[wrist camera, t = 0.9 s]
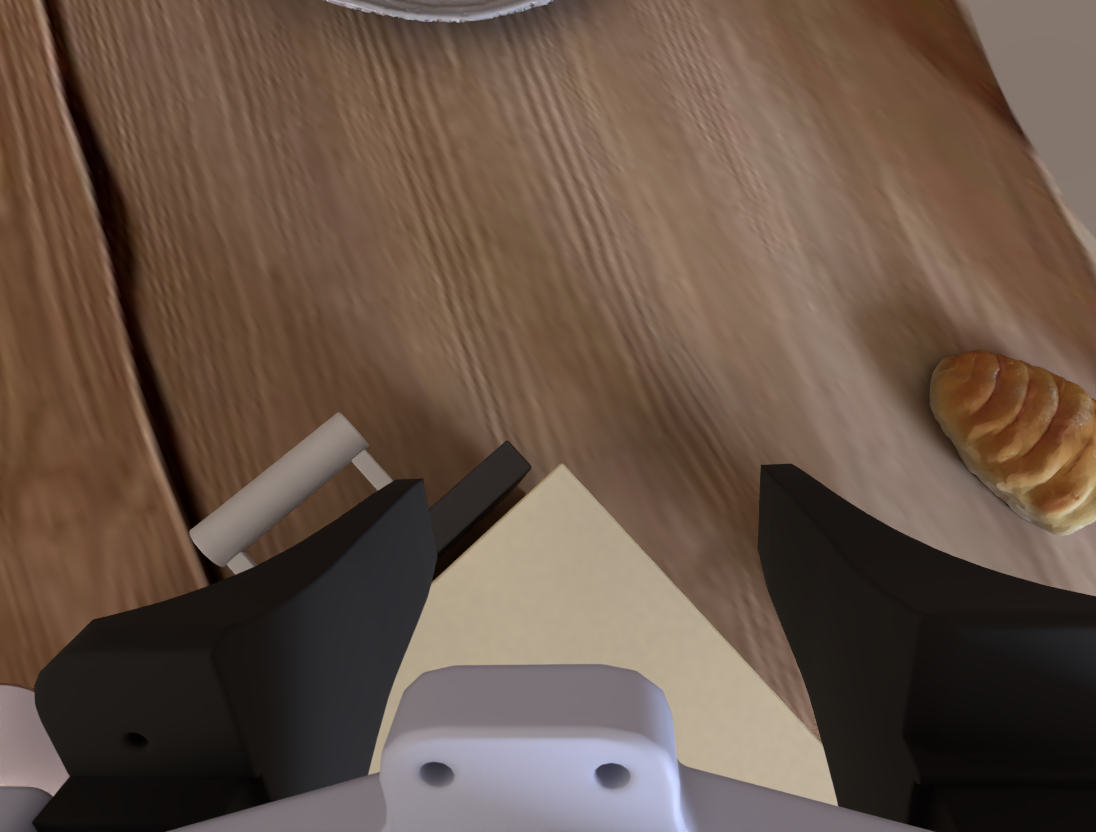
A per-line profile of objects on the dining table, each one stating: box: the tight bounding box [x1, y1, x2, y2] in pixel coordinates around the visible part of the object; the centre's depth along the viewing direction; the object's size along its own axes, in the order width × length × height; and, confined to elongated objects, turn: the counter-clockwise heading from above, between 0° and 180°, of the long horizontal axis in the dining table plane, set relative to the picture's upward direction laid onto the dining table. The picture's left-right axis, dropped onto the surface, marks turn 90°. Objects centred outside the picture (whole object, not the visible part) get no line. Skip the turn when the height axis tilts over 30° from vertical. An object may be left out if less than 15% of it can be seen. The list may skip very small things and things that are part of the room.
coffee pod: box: [0, 683, 70, 796], centre depth 22 cm, size 5×5×5 cm
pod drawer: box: [190, 412, 532, 575], centre depth 23 cm, size 17×12×7 cm
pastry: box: [930, 350, 1096, 536], centre depth 31 cm, size 9×7×4 cm
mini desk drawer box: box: [368, 463, 838, 806], centre depth 23 cm, size 14×14×9 cm
